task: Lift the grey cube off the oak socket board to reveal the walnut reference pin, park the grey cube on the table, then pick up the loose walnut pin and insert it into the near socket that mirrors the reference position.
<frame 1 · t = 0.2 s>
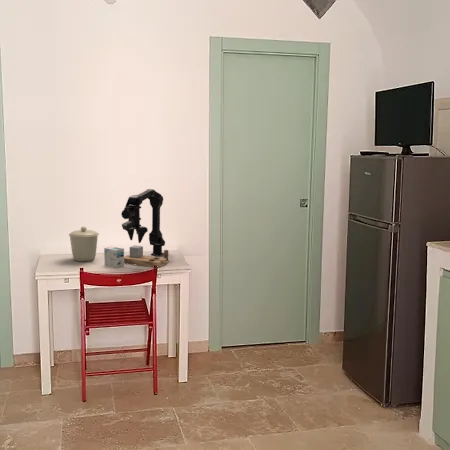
hand: (135, 241, 362), 13 cm above the table, fingers open, 9 cm apart
canister: (84, 260, 370), on the table
light bulb box: (114, 265, 358), on the table
pin: (166, 261, 370), on the table
grey cube: (136, 256, 369), point 3 cm above the table, touching board
board: (144, 263, 365), on the table
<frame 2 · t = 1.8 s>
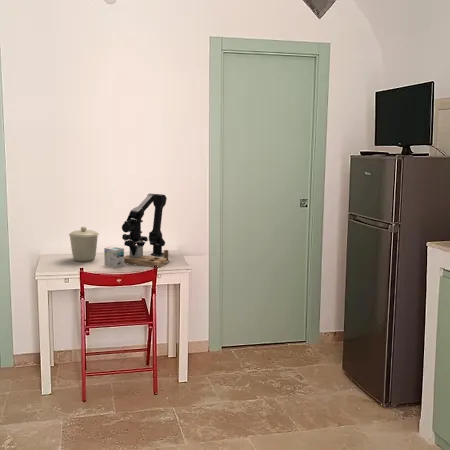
hand: (136, 254, 369), 4 cm above the table, fingers closed on grey cube, 6 cm apart
grey cube: (136, 256, 369), point 3 cm above the table, touching board, gripper
everything else where it was.
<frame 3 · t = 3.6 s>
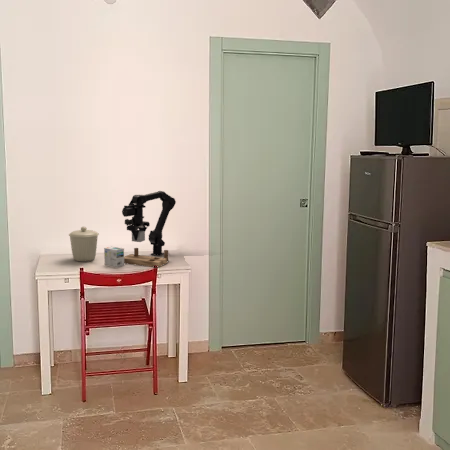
hand: (138, 239, 375), 12 cm above the table, fingers closed on grey cube, 6 cm apart
grey cube: (138, 240, 376), point 11 cm above the table, touching gripper
everything else where it was.
when the fingers open (3 cm above the table, at t = 5.4 s): grey cube drops 2 cm, on the table.
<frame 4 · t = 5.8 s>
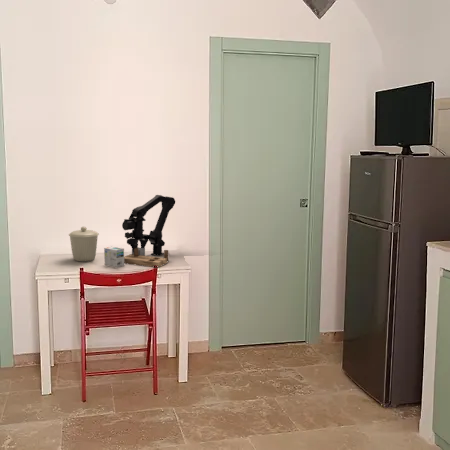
hand: (138, 252, 377), 4 cm above the table, fingers open, 9 cm apart
grey cube: (138, 257, 378), on the table
everything else where it was.
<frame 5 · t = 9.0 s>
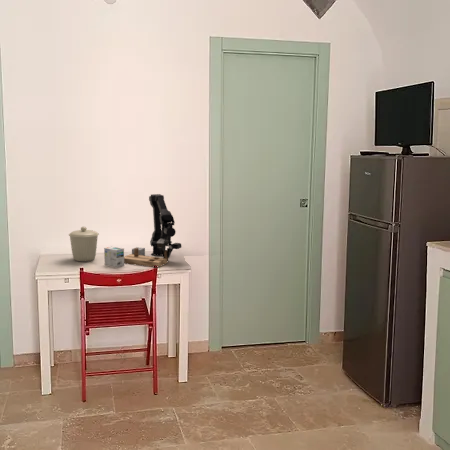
hand: (166, 258, 370), 2 cm above the table, fingers closed on pin, 3 cm apart
pin: (166, 261, 370), on the table, touching gripper
everything else where it was.
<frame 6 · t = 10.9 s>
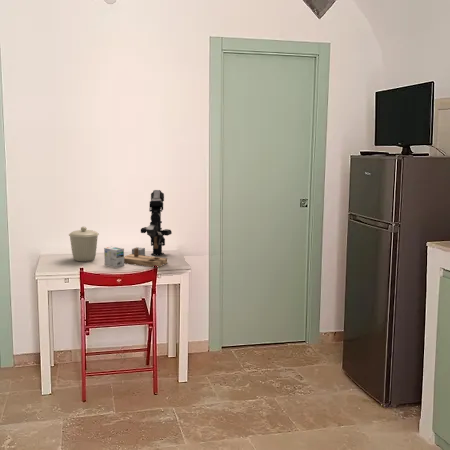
hand: (156, 245, 362), 12 cm above the table, fingers closed on pin, 3 cm apart
pin: (156, 248, 363), point 10 cm above the table, touching gripper
everything else where it was.
when the fingers open (4 cm above the table, at t = 12.8 s): pin drops 2 cm, resting in board.
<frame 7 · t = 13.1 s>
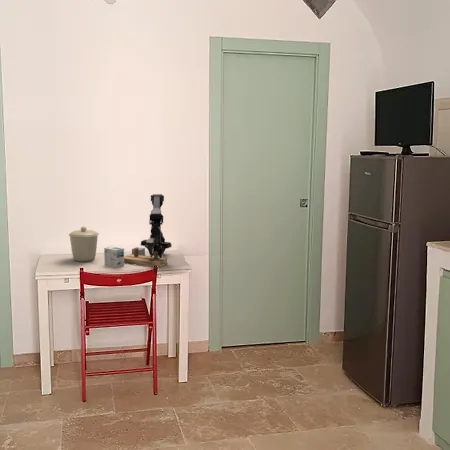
hand: (156, 257, 364), 4 cm above the table, fingers open, 6 cm apart
pin: (155, 263, 364), resting in board
everything else where it was.
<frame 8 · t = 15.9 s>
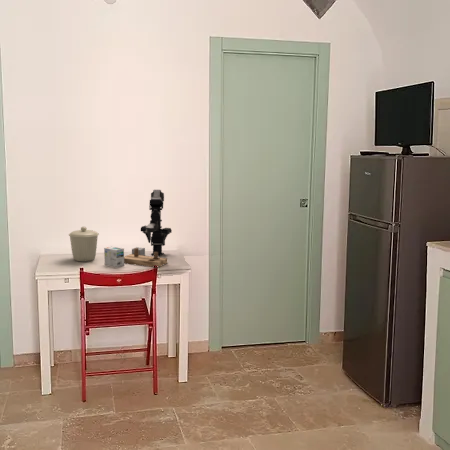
hand: (156, 243, 362), 12 cm above the table, fingers open, 9 cm apart
nothing on the table moved.
at the end: pin 0.1 cm from the target spot on the board, point 0.0 cm above the board's base; pin tilted 1°; grey cube moved 8.7 cm from its start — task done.
